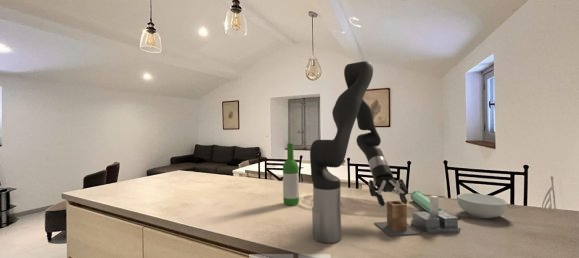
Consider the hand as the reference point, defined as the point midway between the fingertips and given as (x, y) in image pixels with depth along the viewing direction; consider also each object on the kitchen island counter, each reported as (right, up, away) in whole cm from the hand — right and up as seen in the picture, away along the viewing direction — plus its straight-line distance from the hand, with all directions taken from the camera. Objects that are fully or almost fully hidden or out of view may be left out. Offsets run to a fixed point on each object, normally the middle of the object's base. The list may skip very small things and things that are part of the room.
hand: (394, 204), depth 96 cm
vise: (+16, -8, -1) cm, 18 cm away
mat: (0, -8, -2) cm, 8 cm away
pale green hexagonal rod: (+23, -8, +21) cm, 32 cm away
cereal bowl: (+41, -8, +11) cm, 43 cm away
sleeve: (0, -8, -2) cm, 8 cm away
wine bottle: (-38, -9, +32) cm, 50 cm away
